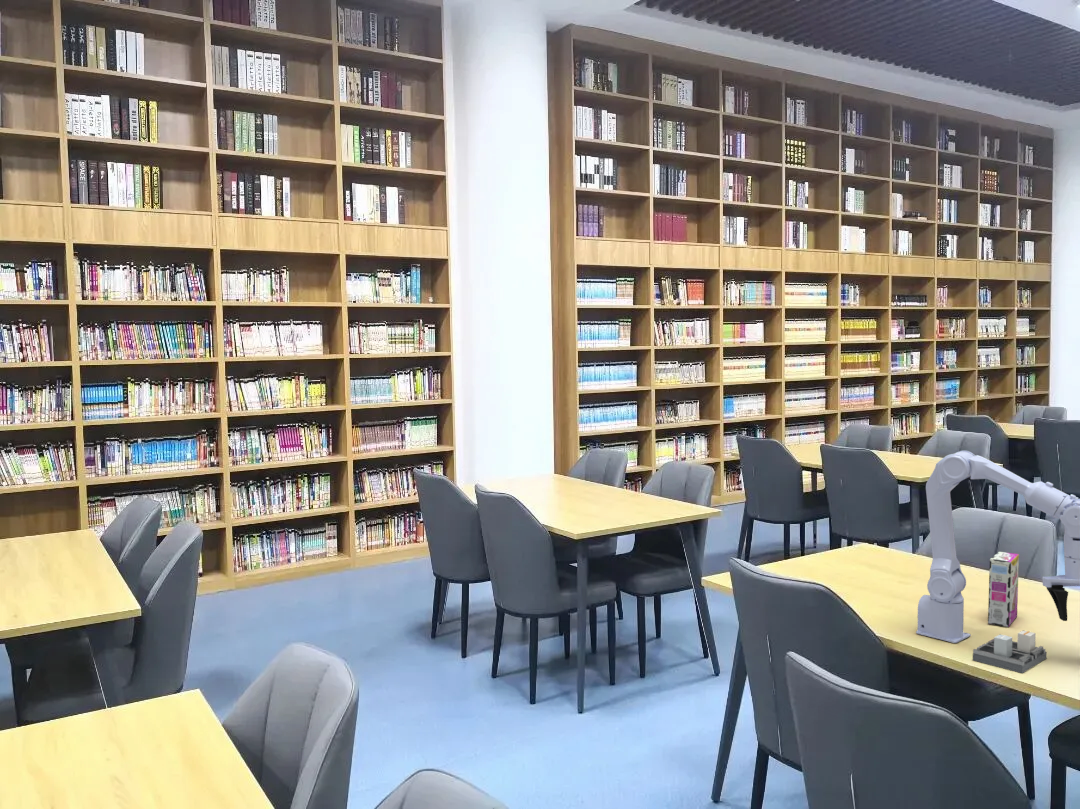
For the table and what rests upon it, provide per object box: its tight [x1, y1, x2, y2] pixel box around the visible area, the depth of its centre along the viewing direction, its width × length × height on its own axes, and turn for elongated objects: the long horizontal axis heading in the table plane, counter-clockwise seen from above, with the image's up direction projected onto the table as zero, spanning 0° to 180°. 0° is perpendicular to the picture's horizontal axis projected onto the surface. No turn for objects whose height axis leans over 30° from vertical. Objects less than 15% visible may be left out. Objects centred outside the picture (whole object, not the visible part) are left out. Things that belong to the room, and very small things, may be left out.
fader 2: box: [1016, 630, 1037, 652], centre depth 180 cm, size 2×3×4 cm
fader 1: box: [993, 634, 1013, 657], centre depth 178 cm, size 2×3×4 cm
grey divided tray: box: [972, 638, 1048, 674], centre depth 180 cm, size 10×13×3 cm
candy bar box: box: [987, 551, 1020, 628], centre depth 206 cm, size 11×5×16 cm, turn 141°
